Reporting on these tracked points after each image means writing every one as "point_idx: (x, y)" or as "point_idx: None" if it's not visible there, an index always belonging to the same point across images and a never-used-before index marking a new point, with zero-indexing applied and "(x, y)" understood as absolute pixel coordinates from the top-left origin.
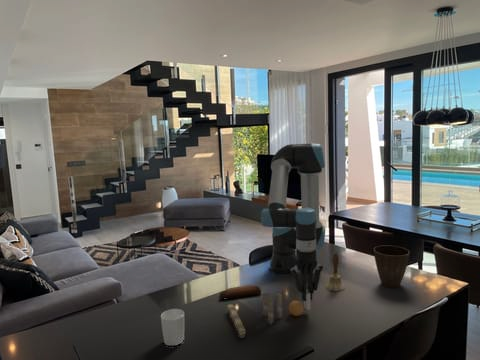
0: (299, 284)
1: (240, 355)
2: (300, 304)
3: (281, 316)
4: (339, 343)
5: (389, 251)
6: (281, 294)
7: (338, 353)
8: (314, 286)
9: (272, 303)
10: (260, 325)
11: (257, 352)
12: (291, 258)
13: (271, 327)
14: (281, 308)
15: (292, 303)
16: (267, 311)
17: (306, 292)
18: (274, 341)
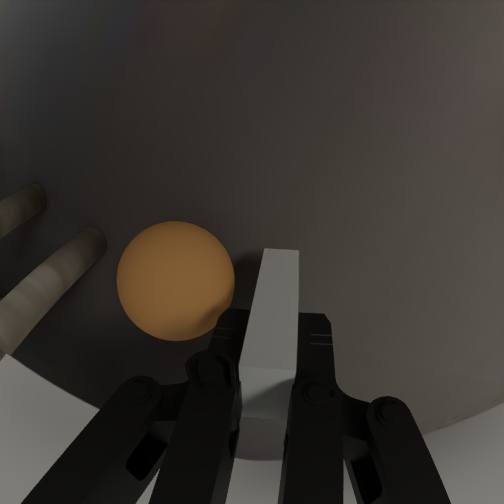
0: (120, 502)
1: (24, 365)
2: (193, 336)
3: (96, 260)
4: (281, 445)
5: None
6: (8, 342)
7: (252, 458)
8: (352, 481)
9: (2, 357)
10: (27, 274)
11: (52, 378)
12: None
13: (63, 305)
14: (67, 289)
15: (127, 312)
16: (23, 222)
17: (239, 427)
18: (82, 371)
